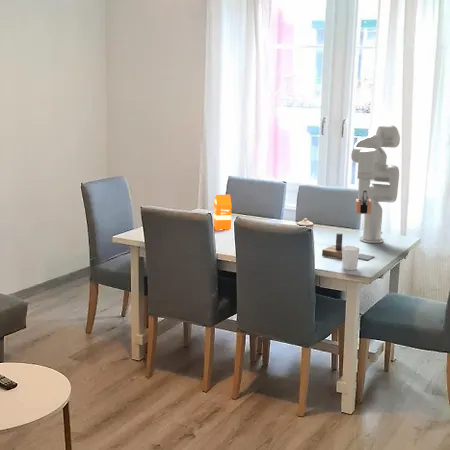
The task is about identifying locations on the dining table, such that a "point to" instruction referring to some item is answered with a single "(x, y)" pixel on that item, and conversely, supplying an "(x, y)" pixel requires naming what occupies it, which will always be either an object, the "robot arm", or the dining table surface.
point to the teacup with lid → (305, 223)
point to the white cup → (350, 257)
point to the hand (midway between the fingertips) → (363, 211)
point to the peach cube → (358, 206)
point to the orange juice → (222, 212)
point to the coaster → (365, 257)
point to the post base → (334, 248)
